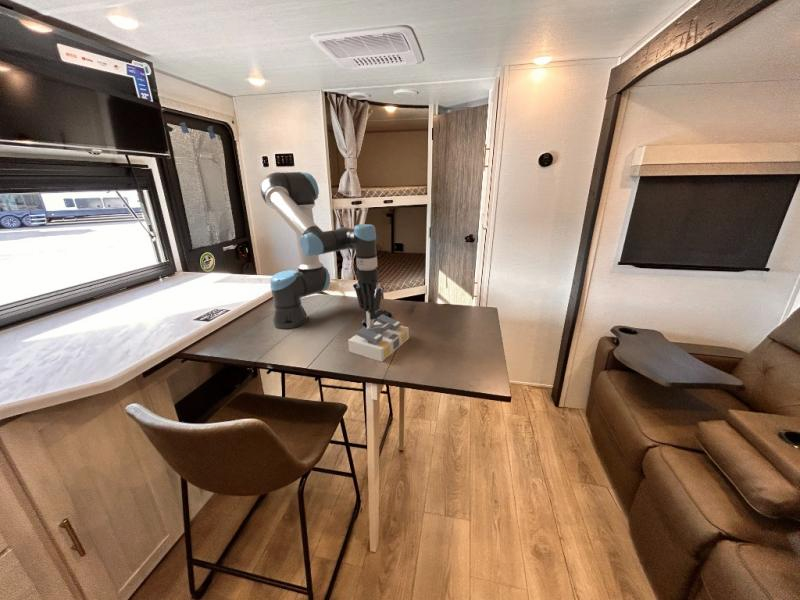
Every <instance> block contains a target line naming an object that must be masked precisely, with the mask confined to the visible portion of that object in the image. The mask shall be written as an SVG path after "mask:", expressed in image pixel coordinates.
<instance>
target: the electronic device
mask: <svg viewBox="0 0 800 600" xmlns="http://www.w3.org/2000/svg"><path fill="white" fill-rule="evenodd" d="M382 314H383V315H385V316H387V317H389V318H392V319H393V315H394V313H393V312H392V311H387V310H386V309H378V310H377V311H375V318H374V323H375V322H376V321H377V318H378V317H379V316H381V315H382ZM365 324H366V325H367V319H366V318H363V319H362V320H361V325H362V328H363V327H364V328H366V326H365Z"/></svg>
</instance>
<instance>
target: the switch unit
mask: <svg viewBox="0 0 800 600" xmlns="http://www.w3.org/2000/svg"><path fill="white" fill-rule="evenodd" d="M379 324H381V323H379V322H377V321H376V322H375V323H374V325H379ZM366 328H369V327H367V326H366ZM409 329H410V328H409V327H408V326H404V325H400V327H399V328H397V329H396V330H394V329H392V328H390V329H388V330H387V331H385V332H376V333H378V334H381V335H383V339H382V340H381V341H379V342H378V343H377V344H376V343H373V342H371V341H369V340H367V339H364V338H362V337H360V336H358V335H357V333H356V334H355V335H353V336H352V337H351V338H349V339H348V340H347V341H348V352H350V353H352V354H356V355H358V356H363V357H366V358H368V359H372V360H374V361H378V362H381V363H383V362H384V361H385V360H386V359H387V358H388V357H390V356H391V354H393V353H394V352H395V351H396V350H398V348H400V346H401V347H402V345H403V344H404V343H405V342H407V340H409V339H410V335H409V334H410V333H409V332H410V330H409Z"/></svg>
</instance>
